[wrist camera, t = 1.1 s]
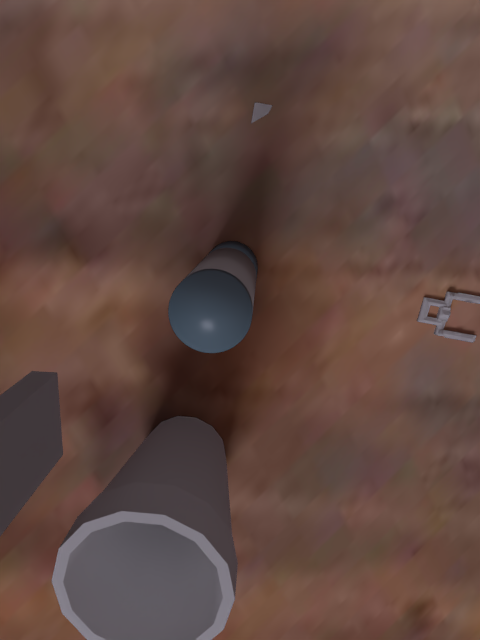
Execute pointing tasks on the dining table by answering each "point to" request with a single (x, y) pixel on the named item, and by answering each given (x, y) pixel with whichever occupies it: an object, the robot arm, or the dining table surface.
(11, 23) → the dining table surface
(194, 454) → the foam cup
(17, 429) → the robot arm
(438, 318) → the small grey pieces
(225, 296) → the cylinder
